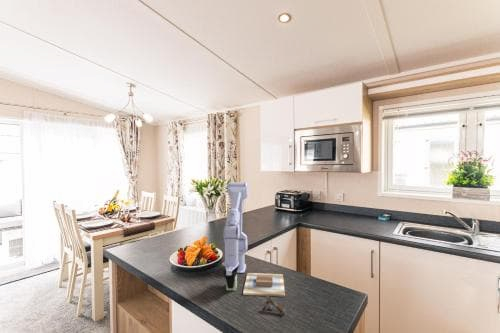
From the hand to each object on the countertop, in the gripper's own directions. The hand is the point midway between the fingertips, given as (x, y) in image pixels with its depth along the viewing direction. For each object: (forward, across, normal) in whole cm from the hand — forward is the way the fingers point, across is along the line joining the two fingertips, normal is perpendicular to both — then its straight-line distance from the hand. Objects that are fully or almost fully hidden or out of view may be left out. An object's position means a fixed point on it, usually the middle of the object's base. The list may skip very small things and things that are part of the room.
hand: (231, 284), depth 103 cm
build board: (+1, -4, +14) cm, 15 cm away
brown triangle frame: (+2, +15, +18) cm, 24 cm away
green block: (+2, 0, 0) cm, 2 cm away
